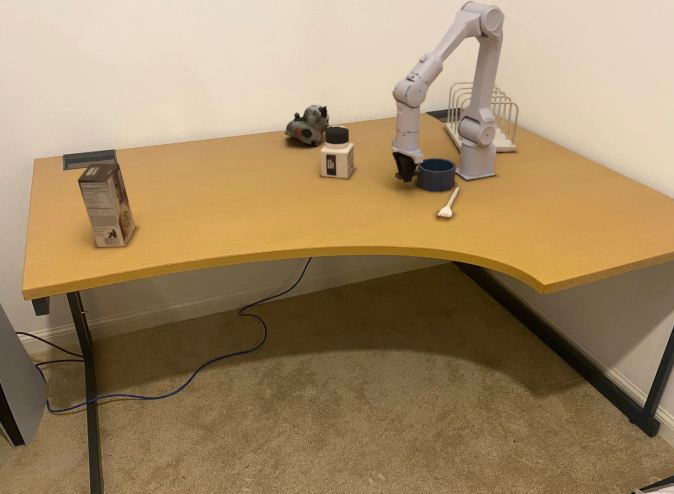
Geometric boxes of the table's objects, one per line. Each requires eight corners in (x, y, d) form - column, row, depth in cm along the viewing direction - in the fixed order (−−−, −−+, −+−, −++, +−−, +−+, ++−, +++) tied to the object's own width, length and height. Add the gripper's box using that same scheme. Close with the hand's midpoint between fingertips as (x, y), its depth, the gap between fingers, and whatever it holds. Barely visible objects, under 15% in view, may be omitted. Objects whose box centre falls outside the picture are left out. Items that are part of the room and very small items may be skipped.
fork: (464, 190, 153) (464, 184, 152) (447, 223, 137) (448, 216, 136) (451, 189, 153) (452, 182, 152) (434, 221, 138) (435, 214, 137)
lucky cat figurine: (286, 134, 190) (302, 94, 187) (319, 149, 192) (336, 110, 188) (279, 135, 176) (297, 92, 172) (315, 152, 177) (333, 109, 174)
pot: (441, 174, 162) (442, 155, 159) (461, 187, 154) (463, 168, 151) (387, 185, 156) (387, 166, 153) (405, 199, 148) (406, 179, 145)
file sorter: (515, 152, 177) (523, 101, 168) (460, 154, 175) (465, 102, 167) (493, 126, 198) (499, 80, 189) (444, 128, 196) (447, 81, 188)
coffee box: (108, 228, 134) (90, 163, 125) (136, 227, 135) (120, 162, 126) (96, 247, 126) (75, 179, 118) (125, 246, 127) (107, 178, 118)
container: (347, 179, 159) (347, 133, 152) (321, 176, 160) (319, 131, 153) (354, 168, 165) (353, 124, 158) (328, 166, 167) (326, 122, 159)
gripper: (381, 122, 148) (380, 172, 156) (405, 140, 137) (403, 192, 144) (406, 119, 150) (404, 168, 158) (431, 136, 139) (428, 188, 147)
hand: (405, 180), depth 151 cm, fingers closed on pot, 2 cm apart
